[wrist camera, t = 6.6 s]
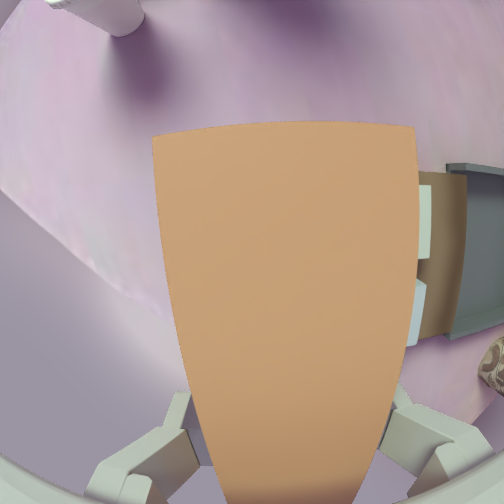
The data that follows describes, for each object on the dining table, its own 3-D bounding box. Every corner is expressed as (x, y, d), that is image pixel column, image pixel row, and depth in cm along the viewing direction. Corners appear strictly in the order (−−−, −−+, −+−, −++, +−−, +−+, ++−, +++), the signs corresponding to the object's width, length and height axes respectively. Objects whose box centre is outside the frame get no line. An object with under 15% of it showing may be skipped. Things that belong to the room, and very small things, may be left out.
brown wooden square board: (446, 174, 20) (466, 175, 17) (436, 318, 23) (451, 331, 20) (298, 172, 21) (304, 170, 18) (303, 338, 24) (308, 357, 21)
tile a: (416, 184, 18) (430, 185, 16) (415, 251, 19) (429, 257, 17) (355, 184, 18) (366, 184, 16) (357, 256, 19) (367, 263, 17)
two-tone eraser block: (334, 156, 7) (420, 126, 3) (319, 468, 11) (332, 541, 6) (207, 163, 8) (145, 136, 3) (248, 474, 11) (245, 548, 6)
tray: (515, 173, 19) (533, 174, 16) (503, 308, 23) (517, 317, 20) (445, 163, 20) (465, 162, 17) (434, 327, 23) (449, 340, 20)
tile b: (413, 276, 19) (426, 285, 17) (406, 332, 20) (416, 344, 18) (356, 283, 19) (365, 292, 17) (352, 342, 20) (359, 355, 19)
